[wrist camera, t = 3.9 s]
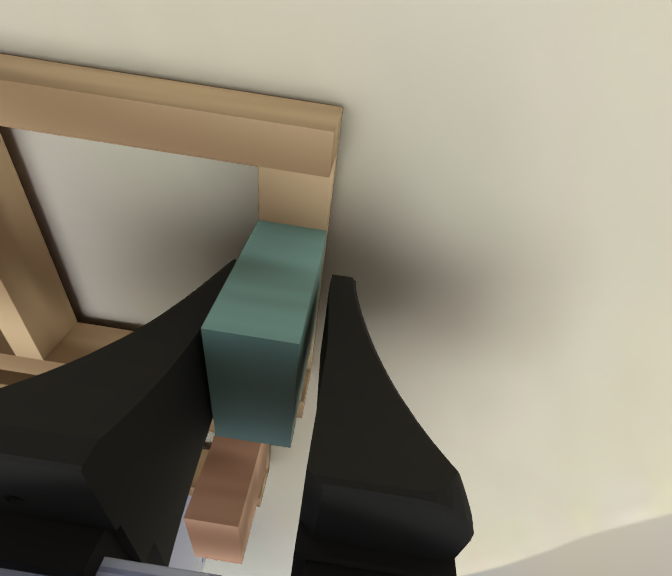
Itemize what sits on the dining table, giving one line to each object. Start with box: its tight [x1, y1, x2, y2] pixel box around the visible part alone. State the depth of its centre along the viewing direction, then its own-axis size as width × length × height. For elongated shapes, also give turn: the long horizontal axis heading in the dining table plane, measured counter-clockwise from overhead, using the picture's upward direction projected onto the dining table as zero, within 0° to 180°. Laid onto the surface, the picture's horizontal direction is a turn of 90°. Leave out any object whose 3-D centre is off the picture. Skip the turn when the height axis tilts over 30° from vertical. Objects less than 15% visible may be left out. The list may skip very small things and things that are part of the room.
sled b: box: [0, 369, 270, 564], centre depth 17 cm, size 8×20×5 cm, turn 83°
